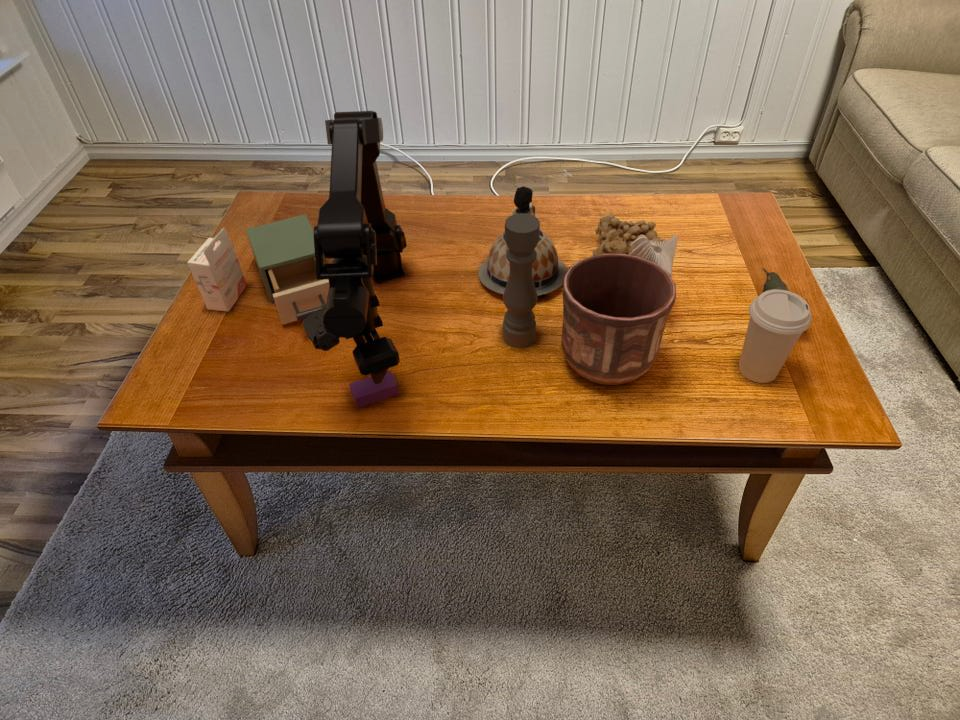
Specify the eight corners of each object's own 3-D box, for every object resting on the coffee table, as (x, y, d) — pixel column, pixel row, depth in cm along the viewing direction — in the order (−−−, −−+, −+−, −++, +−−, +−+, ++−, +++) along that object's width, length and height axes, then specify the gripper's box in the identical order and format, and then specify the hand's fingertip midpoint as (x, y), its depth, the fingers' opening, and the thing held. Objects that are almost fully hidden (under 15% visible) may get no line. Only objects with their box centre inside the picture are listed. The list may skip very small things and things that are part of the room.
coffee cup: (778, 397, 112) (807, 332, 101) (722, 376, 115) (745, 311, 105) (792, 362, 117) (821, 298, 107) (738, 344, 121) (761, 279, 110)
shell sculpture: (669, 303, 129) (687, 225, 117) (658, 329, 124) (677, 251, 111) (628, 293, 132) (641, 215, 119) (616, 318, 127) (629, 240, 114)
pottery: (608, 415, 109) (622, 337, 97) (537, 358, 119) (541, 280, 107) (677, 367, 117) (699, 287, 104) (605, 316, 127) (617, 239, 114)
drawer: (347, 322, 126) (341, 295, 121) (288, 340, 123) (279, 313, 118) (322, 270, 138) (315, 243, 133) (267, 285, 135) (259, 258, 130)
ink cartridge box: (225, 283, 137) (203, 223, 126) (247, 286, 136) (227, 225, 126) (205, 310, 131) (180, 249, 120) (228, 313, 130) (205, 251, 120)
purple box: (391, 379, 116) (390, 370, 115) (399, 393, 114) (397, 384, 112) (351, 393, 114) (348, 383, 113) (357, 408, 112) (355, 398, 110)
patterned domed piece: (499, 243, 145) (505, 159, 132) (578, 266, 140) (593, 181, 126) (463, 288, 133) (465, 200, 119) (547, 315, 128) (560, 227, 114)
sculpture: (770, 276, 135) (777, 256, 131) (807, 341, 121) (816, 320, 118) (748, 277, 134) (755, 257, 131) (783, 342, 121) (791, 322, 117)
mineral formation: (595, 234, 146) (664, 236, 143) (591, 278, 139) (664, 282, 136) (596, 206, 140) (669, 208, 137) (592, 251, 132) (669, 254, 129)
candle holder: (539, 329, 125) (546, 215, 107) (530, 351, 121) (535, 236, 103) (508, 322, 126) (509, 209, 109) (498, 343, 122) (498, 230, 105)
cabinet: (331, 285, 136) (323, 250, 130) (270, 302, 132) (259, 267, 126) (313, 247, 145) (305, 214, 139) (256, 262, 142) (245, 229, 135)
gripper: (286, 271, 102) (307, 344, 113) (317, 347, 90) (337, 420, 101) (356, 252, 105) (369, 325, 116) (395, 323, 93) (406, 396, 104)
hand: (369, 364), depth 109 cm, fingers open, 9 cm apart
